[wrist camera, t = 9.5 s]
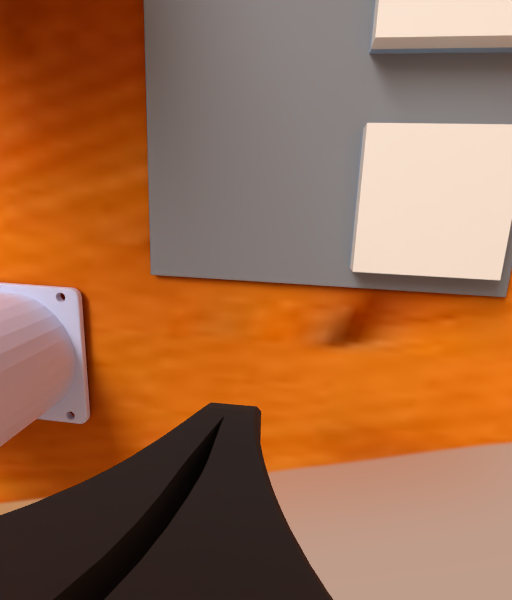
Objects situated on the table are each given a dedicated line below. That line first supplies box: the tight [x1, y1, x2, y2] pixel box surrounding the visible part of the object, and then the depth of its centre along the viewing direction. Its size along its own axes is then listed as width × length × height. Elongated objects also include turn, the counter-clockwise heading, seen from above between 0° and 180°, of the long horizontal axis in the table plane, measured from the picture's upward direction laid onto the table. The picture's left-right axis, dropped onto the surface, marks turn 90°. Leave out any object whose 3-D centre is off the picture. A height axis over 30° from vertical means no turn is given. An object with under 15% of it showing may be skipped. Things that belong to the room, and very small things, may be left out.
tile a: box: [349, 123, 512, 280], centre depth 16 cm, size 2×6×6 cm
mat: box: [144, 0, 512, 297], centre depth 17 cm, size 17×17×1 cm
